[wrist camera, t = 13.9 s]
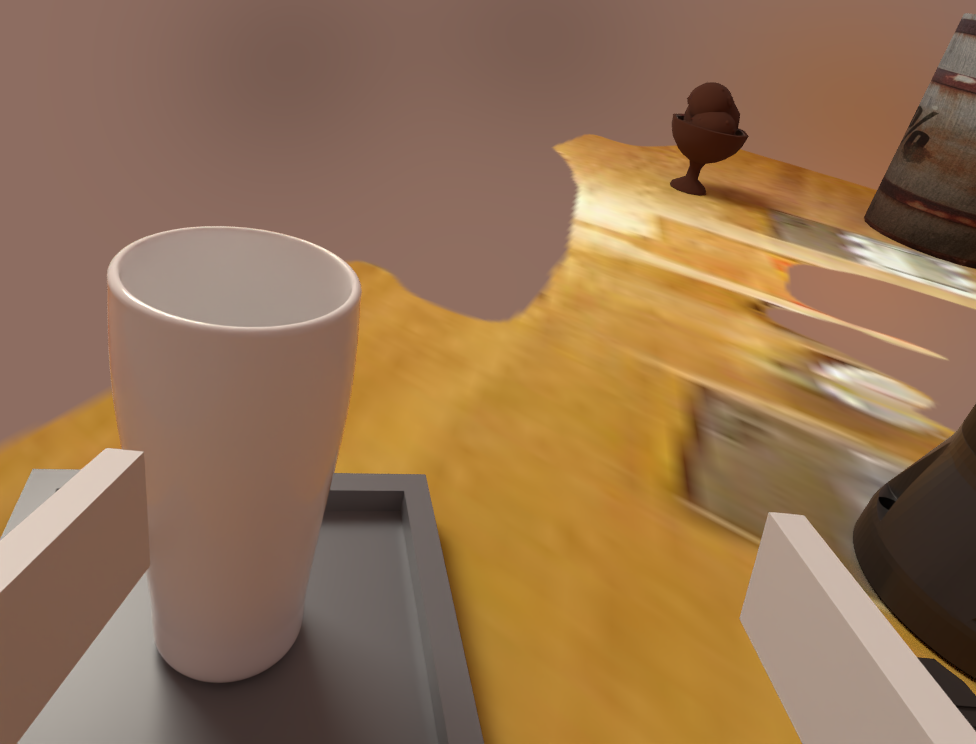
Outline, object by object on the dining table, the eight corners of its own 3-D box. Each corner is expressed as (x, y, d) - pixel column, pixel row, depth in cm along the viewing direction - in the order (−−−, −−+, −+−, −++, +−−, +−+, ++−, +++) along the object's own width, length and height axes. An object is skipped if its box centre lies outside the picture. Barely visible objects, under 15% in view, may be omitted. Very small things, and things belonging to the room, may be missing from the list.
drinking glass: (86, 658, 25) (37, 270, 18) (213, 538, 31) (217, 206, 23) (251, 744, 24) (276, 364, 16) (352, 602, 30) (404, 271, 22)
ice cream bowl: (717, 207, 101) (758, 98, 94) (643, 183, 105) (677, 75, 97) (730, 194, 110) (769, 92, 102) (661, 171, 113) (694, 72, 106)
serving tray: (417, 511, 37) (425, 474, 35) (476, 820, 24) (492, 779, 23) (39, 512, 32) (32, 468, 30) (-123, 898, 20) (-146, 852, 18)
